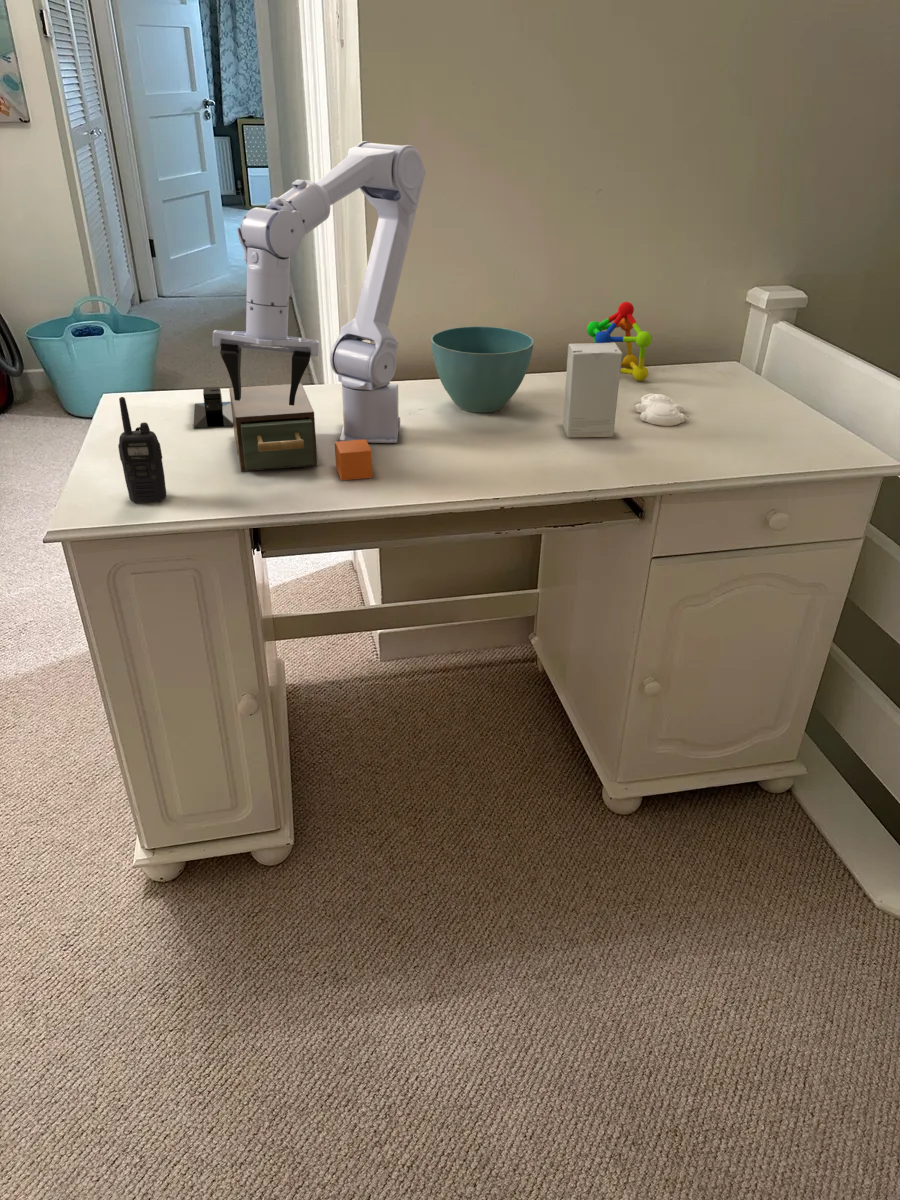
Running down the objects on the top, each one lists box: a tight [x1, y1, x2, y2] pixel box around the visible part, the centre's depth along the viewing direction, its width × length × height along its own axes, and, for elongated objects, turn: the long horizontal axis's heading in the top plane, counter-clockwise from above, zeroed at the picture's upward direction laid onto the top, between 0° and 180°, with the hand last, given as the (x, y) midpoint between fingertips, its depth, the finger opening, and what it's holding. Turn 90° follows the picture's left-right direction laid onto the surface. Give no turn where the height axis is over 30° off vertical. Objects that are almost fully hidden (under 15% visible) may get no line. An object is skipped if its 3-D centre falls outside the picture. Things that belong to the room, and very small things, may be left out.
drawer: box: [241, 418, 315, 470], centre depth 132 cm, size 18×10×7 cm, turn 16°
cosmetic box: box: [562, 342, 623, 438], centre depth 145 cm, size 8×6×15 cm
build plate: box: [191, 386, 234, 430], centre depth 150 cm, size 12×7×5 cm, turn 13°
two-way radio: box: [117, 396, 167, 504], centre depth 119 cm, size 6×4×15 cm
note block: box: [334, 439, 373, 481], centre depth 131 cm, size 5×5×4 cm
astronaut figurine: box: [634, 393, 686, 427], centre depth 157 cm, size 9×12×3 cm
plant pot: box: [430, 325, 534, 414], centre depth 156 cm, size 18×18×12 cm
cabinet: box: [228, 382, 318, 473], centre depth 136 cm, size 14×12×9 cm
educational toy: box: [586, 301, 653, 382], centre depth 173 cm, size 16×13×15 cm
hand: (264, 401), depth 125 cm, fingers open, 7 cm apart
